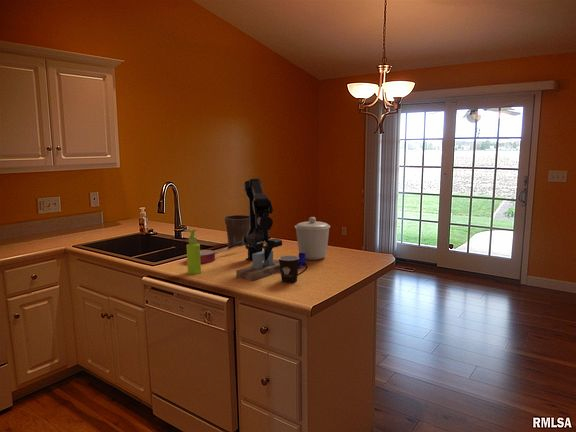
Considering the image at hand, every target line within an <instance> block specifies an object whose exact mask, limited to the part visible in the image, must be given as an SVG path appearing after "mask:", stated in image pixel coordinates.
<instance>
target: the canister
mask: <svg viewBox="0 0 576 432" xmlns="http://www.w3.org/2000/svg"><path fill="white" fill-rule="evenodd" d="M294 228H295V232H296V233H295V234H296V240H297V248H298V254H299V253H306V260H310V261H317V260H322V259H324V258H325V257H326V255H327V250H328V243H329V236H330V235H329V233H330V228H331V225H330V224H328V223H327V222H323V221H317V218H316V217H315V216H310V217H309V218H308V221H302V222H299V223H297V224H296V225H294Z"/></svg>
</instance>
